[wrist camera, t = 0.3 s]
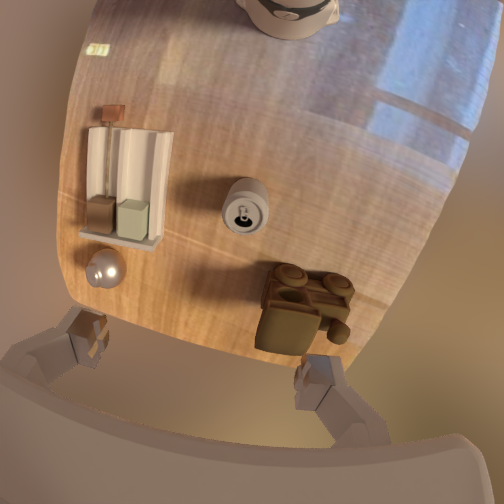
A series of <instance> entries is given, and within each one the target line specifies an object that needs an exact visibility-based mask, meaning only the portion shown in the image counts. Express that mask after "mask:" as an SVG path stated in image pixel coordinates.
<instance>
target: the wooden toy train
mask: <svg viewBox="0 0 504 504" xmlns="http://www.w3.org/2000/svg"><path fill="white" fill-rule="evenodd" d="M354 292H355V289H354V288H353V284H352V283H351V281H350V280H349V279H347V278H346V277H344V276H342V275H339V274H334V273H332V274H328V275H326V276H325V277H324V278H323V282H322V281H317V280H312V279H308V276H307V274H306V272H305V271H304V270H303V269H301V268H300V267H297V266H295V265H292V264H282V265H279V266H278V267H277V268H276V269H275V271H274V272H273V271H269V274H268V277H267V281H266V284H265V288H264V291H263V295H262V298H261V309H263V311H262V314H261V318H260V321H259V324H258V327H257V332H256V336H255V348H256V349H259V350H263V351H266V352H270V353H277V354H283V355H291V356H303V354H304V353H306V352H307V350H308V349H309V347H310V346H311V343H312V341H313V339H314V337H315V335H316V333H317V331H318V330H321V331H328V332H327V338H328V340H329V341H331V342H333V343H335V344H338V345H341V344H344V343H345V342H346V341H347V339H348V337H349V335H350V328H349V327H348V326H347V325H346V324H345V322H346V320H347V317H348V315H349V312H350V307H349V303H350V301H351V298H352V296H353V294H354Z"/></svg>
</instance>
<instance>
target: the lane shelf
mask: <svg viewBox="0 0 504 504" xmlns="http://www.w3.org/2000/svg"><path fill="white" fill-rule="evenodd" d="M108 131H109V126H94V127H92V128H89V137H88V155H87V201H89V200H91V199H92V198H94V197H95V196H97V195H98V194H100V195H105V179H106V157H107V143H108ZM173 134H174V132H171V131H162V130H152V129H141V128H127V127H112V137H111V149H110V165H109V191H108V196H113V197H117V206H116V228H115V229H113V230H112V231H111V232H110V233H109V234H104V233H99V232H94V231H89V230H88V228H87V226H85V227H84V228H83V229H82V230H80V231H79V237H82V238H87V239H91V240H96V241H101V242H106V243H110V244H115V245H120V246H125V247H130V248H135V249H140V250H145V251H150V252H153V251H154V249H155V248H156V246H157V245H158V244H159V242H160V241H161V239H162V238H163V234H164V219H165V207H166V195H167V185H168V175H169V166H170V157H171V149H172V142H173ZM128 199H133V200H139V201H145V202H150V214H149V232H148V233H147V234H146V235H145V237H144V238H143V239H142V240H141V241H140V240H135V239H130V238H125V237H120V236H118V207H119V206H120V205H121V204H123V203H124V202H125V201H127V200H128Z"/></svg>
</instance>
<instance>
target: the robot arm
mask: <svg viewBox="0 0 504 504" xmlns="http://www.w3.org/2000/svg"><path fill="white" fill-rule="evenodd" d="M236 3H237V4H238V5H239V6H240V7H241V8H243V9H244V10H246V12H247V13H248V15H249V17H250V18H251V20H252V22H253V23H254V24H255V25H256V26H257V27H258V28H259V29H260V30H261V31H263V32H264V33H266V34H268V35H270V36H272V37H275V38H279V39H285V40H297V39H302V38H306V37H308V36H311V35H313V34H314V33H316V32H317V31H318V30H320V29H321V28H322V27H324V26H328V25H332V24H335V23H337V22H338V20H339V6H338V0H236ZM333 13H334V14H333ZM106 323H107V319H106V315H104V314H101V313H98V312H95V311H92V310H89V309H86V308H82V307H79V306H76V305H75V306H72V307H71V309H70V310H69V311H68V313H67V314H66V315H65V317H64V318H63V319H62V321H61V322H60V323H59V324H58V326H57V327H56V328H51V329H48V330H46V331H44V332H41V333H39V334H37V335H34V336H32V337H30V338H28V339H25V340H23V341H21V342H18V343H16V344H14V345H12V346H11V347H10V349H9V350H8V351H7V353H6V354H5V355H4V357H3V358H2V360H1V361H0V504H495V503H494V497H493V491H492V487H491V482H490V478H489V474H488V470H487V467H486V463H485V460H484V457H483V455H482V453H481V451H480V450H479V449H478V448H477V447H476V446H475V445H473V444H472V443H471V442H470V441H469V440H467V439H466V438H465V437H464V436H462V435H461V434H452V435H447V436H442V437H437V438H432V439H426V440H420V441H414V442H407V443H399V444H391V441H390V436H389V433H388V429H387V425H386V421H385V420H384V419H383V418H382V417H381V416H380V415H379V414H378V413H377V412H376V411H375V410H374V409H373V408H372V407H371V406H370V405H369V404H368V403H367V402H366V401H365V400H364V399H363V398H362V397H361V396H360V395H359V394H358V393H357V392H356V391H355V390H354V389H353V388H352V387H351V386H347V382H346V378H345V374H344V370H343V366H342V361H341V358H340V357H339V356H327V355H317V354H306V353H304V354H303V356H302V358H301V365H299V366H298V367H297V369H296V372H295V377H294V388H295V389H296V391H297V393H296V395H295V407H296V409H298V410H310V411H315V412H316V414H317V415H318V417H319V418H320V420H321V421H322V422H323V424H324V425H325V427H326V428H327V430H328V431H329V432H330V434H331V435H332V437H333V438H334V439H335V440H336V442H335V444H334V445H333V446H332V447H331V448H323V449H322V448H321V449H320V448H315V449H314V448H284V447H270V446H258V445H249V444H240V443H232V442H225V441H218V440H212V439H206V438H201V437H195V436H190V435H185V434H180V433H175V432H171V431H167V430H163V429H159V428H155V427H151V426H147V425H144V424H140V423H137V422H133V421H130V420H126V419H123V418H120V417H117V416H114V415H111V414H108V413H105V412H102V411H99V410H96V409H94V408H91V407H88V406H85V405H83V404H80V403H78V402H75V401H73V400H71V399H68V398H66V397H63V396H61V395H59V394H57V393H54V392H52V391H51V389H50V387H49V385H48V384H49V383H51V382H52V381H54V380H55V379H57V378H58V377H60V376H61V375H63V374H64V373H66V372H67V371H69V370H70V369H72V368H73V367H75V366H76V365H78V364H81V365H84V366H87V367H90V368H94V369H95V368H96V366H97V364H98V362H99V360H100V358H101V357H100V353H101V352H103V351H104V350H105V349H106V347H107V345H108V341H109V330H108V328H107V327H106V326H105V325H106Z"/></svg>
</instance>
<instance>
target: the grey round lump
mask: <svg viewBox="0 0 504 504" xmlns="http://www.w3.org/2000/svg"><path fill="white" fill-rule="evenodd" d="M126 271H127V267H126V262H125V260H124V258H123V256H122V255H121V254H120V253H119V252H117V251H116V250H113V249H102V250H99V251H98V252H96V253H95V254H94V255H93V256H92V258H91V260H90V261H89V262H88V266H87V267H86V269H85V272H86V278H87V280H88V282H89V283H90V285H91V286H92V287H102V288H106V289H110V288H114V287H116V286H118V285H119V284H120V283H121V282H122V281H123V280H124V278H125V276H126Z"/></svg>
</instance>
